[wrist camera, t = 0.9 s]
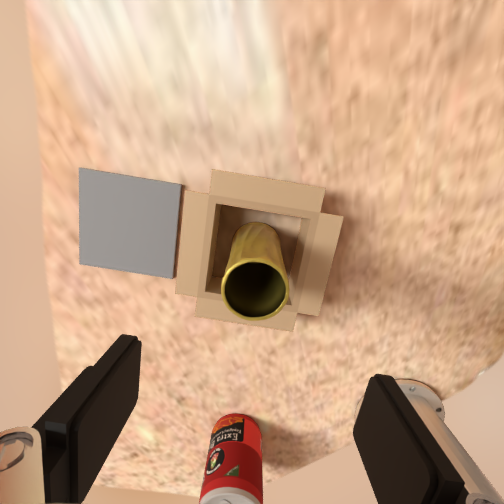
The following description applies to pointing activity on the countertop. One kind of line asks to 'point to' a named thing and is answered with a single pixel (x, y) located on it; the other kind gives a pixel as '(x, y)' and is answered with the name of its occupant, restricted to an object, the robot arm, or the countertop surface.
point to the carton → (263, 199)
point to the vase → (255, 274)
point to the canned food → (234, 463)
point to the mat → (128, 223)
